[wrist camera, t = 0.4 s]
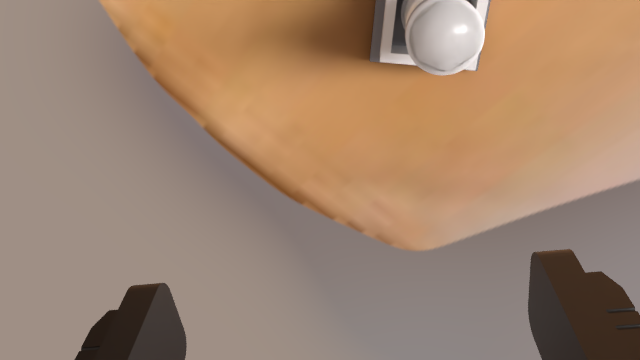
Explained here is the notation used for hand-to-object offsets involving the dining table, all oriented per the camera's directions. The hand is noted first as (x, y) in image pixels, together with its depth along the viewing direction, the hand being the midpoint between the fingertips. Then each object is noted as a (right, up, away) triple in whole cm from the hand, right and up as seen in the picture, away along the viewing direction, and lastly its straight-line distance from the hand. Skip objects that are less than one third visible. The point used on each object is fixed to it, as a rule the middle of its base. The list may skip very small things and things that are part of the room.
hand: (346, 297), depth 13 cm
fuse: (+6, +13, +23) cm, 27 cm away
